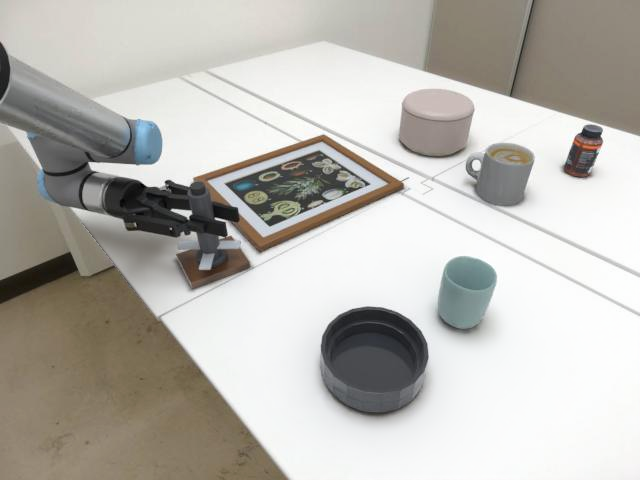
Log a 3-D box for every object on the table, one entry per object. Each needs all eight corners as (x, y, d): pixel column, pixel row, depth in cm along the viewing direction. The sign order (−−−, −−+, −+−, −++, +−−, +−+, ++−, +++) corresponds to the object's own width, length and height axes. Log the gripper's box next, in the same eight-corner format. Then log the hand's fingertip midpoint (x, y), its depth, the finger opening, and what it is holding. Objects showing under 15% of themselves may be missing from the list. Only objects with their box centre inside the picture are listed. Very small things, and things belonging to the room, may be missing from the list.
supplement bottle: (595, 176, 108) (614, 132, 101) (573, 179, 107) (590, 135, 100) (579, 164, 113) (596, 121, 105) (557, 166, 112) (573, 123, 105)
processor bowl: (358, 436, 59) (360, 413, 56) (303, 354, 69) (302, 331, 66) (444, 385, 65) (451, 361, 61) (382, 316, 75) (385, 293, 71)
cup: (426, 322, 74) (435, 277, 68) (445, 293, 79) (455, 249, 72) (472, 344, 70) (487, 299, 64) (489, 312, 75) (504, 268, 69)
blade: (238, 278, 80) (225, 204, 70) (175, 278, 80) (154, 205, 70) (245, 238, 88) (235, 167, 78) (189, 238, 88) (171, 168, 78)
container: (384, 137, 125) (388, 95, 117) (435, 122, 131) (442, 82, 124) (427, 165, 112) (434, 121, 105) (481, 148, 119) (491, 105, 112)
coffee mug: (529, 192, 103) (543, 152, 97) (509, 211, 97) (522, 170, 91) (476, 171, 110) (485, 133, 104) (454, 188, 105) (462, 148, 98)
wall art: (404, 183, 104) (259, 246, 87) (403, 188, 105) (259, 252, 88) (323, 133, 123) (192, 177, 106) (323, 138, 124) (193, 183, 107)
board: (192, 289, 80) (190, 283, 79) (177, 260, 86) (175, 254, 85) (250, 267, 84) (249, 261, 83) (232, 241, 90) (231, 235, 89)
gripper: (150, 190, 91) (255, 212, 85) (92, 240, 79) (210, 270, 73) (140, 157, 87) (251, 178, 80) (77, 204, 74) (202, 234, 68)
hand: (231, 222), depth 77 cm, fingers closed on blade, 4 cm apart
